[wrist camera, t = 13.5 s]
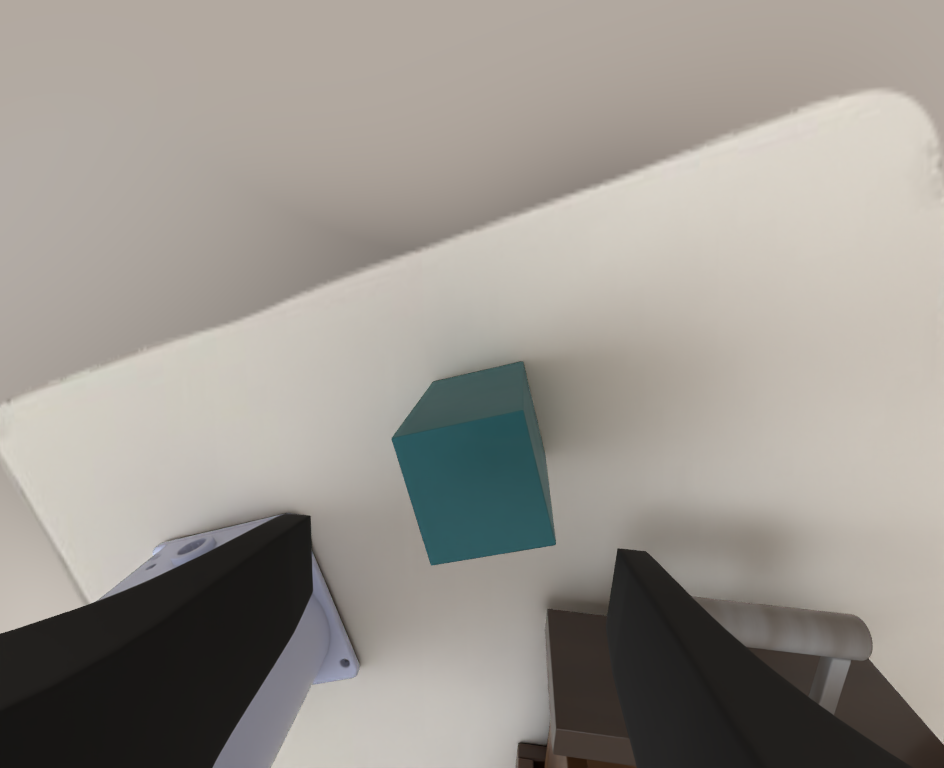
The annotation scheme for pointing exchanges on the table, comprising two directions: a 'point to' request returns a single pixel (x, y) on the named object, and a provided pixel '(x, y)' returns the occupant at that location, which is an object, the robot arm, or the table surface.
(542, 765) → the cabinet
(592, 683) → the drawer
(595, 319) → the table surface
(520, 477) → the teal rectangular block
